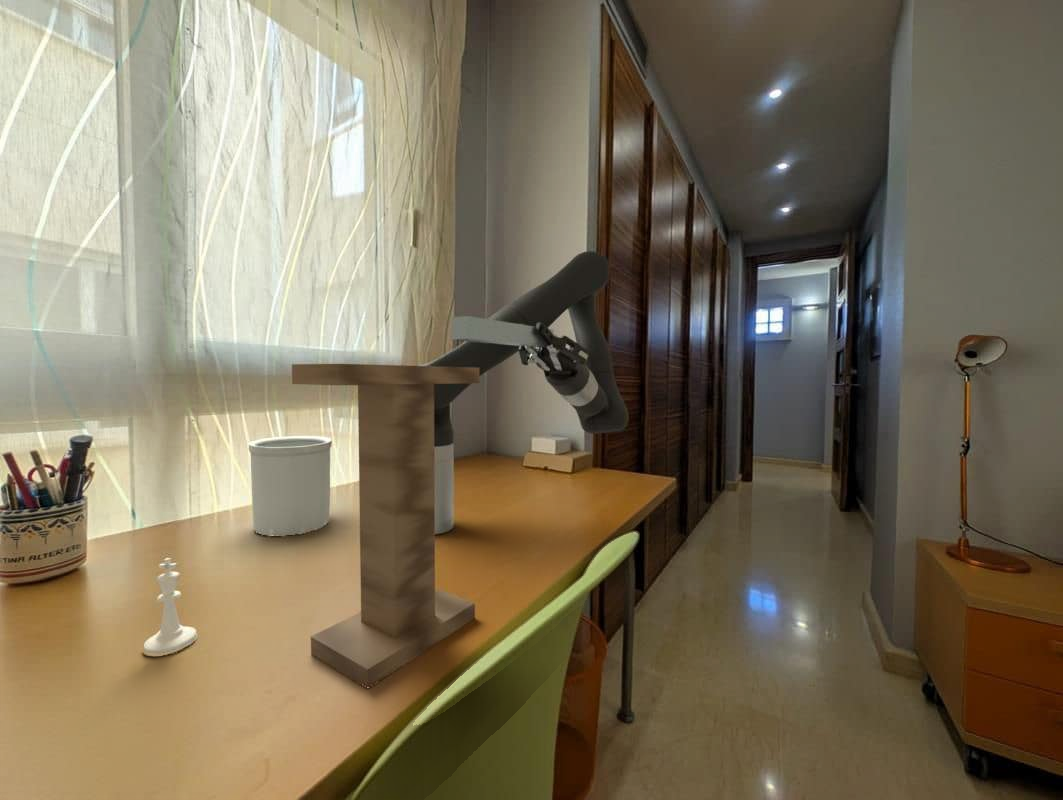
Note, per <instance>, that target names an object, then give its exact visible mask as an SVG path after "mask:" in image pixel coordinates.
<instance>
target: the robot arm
mask: <svg viewBox="0 0 1063 800" xmlns="http://www.w3.org/2000/svg"><path fill="white" fill-rule="evenodd" d="M609 262H610V261H608V259H607V258H606V256H604V255H603V254H602V253H600V252H598V251H597V252H596V251H593V250H592V251H590V250H588V251H584V252H583V251H582V252H581V253H578V254H576V255H575V256H574V257H573V258H572V259H571V260H570V261H569V262H568V263H566V265H565V266H564V267H563V268H561V269H560V270H559V271H558V272H556V273H555V274H554V275H552V276H551V277H550V278H549V279H547V280H546V281H544V282H542V283H541V284H539V285H537V286H536V287H534V288H531V290H529V291H527V292H525V293H523V294H522V295H520V296H519V297H517V298H516V299H514V300H513V301H511V302H510V303H508V304H506V305H504V306H503V307H502V308H501V309H499V310H498V311H496V312H494V313H492V315H490V317H488V318H487V319H490V320H496V321H502V322H509V323H515V324H521V325H528V326H534V327H536V328H535V334H536V335H537V337H538V338H539V339H540V340H541V341H542V343H543V344H544V345H547V347H545V348H537V347H526V346H515V345H505V344H494V343H483V342H472V341H462V343H460V344H459V345H458V346H456V347H455V348H453V349H451V350H450V351H448V352H447V353H444V354H443V355H442V356H439V357H437V358H436V359H434V360H431V361H430V362H427V363H422V364H418V365H417V366H438V367H475V368H479V378H480V377H481V376H483V375H484V374H486V373H487V372H488V371H490V370H492V369H493V368H496V367H497V366H498V365H500V364H502V363H503V362H505V361H506V360H508V359H509V358H511V357H512V356H513V355H515V354H516V353H519V358H520V362H521V364H522V365H523V366H528V365H529V363H531V364H536V367H538V368H539V369H541V370H542V371H543V373H544V378H545V379H546V381H547V383H549V385H550V386H551V387H552V388H553V389H554V390H555V391H556V392H557V393H558V394H559V395H560V397H562V399H564V400H565V401H566V402H568V403H569V404H570V406H571V407H572V408H573V409H574V410H575V412H576V414H577V417H578V419H579V424H580V426H581V428H582V430H583V431H584V432H585V433H587V434H590V435H591V434H592V435H594V434H595V435H596V434H604V433H612V432H618V431H619V432H620V431H622V430H624V429H625V428H626V427H627V425H628V423H629V419H630V418H629V417H630V416H629V415H630V414H629V411H628V409H627V406H626V404H625V401H624V399H623V397H622V396H621V393H620V390H619V388H618V386H617V382H616V378H615V374H614V368H613V367H614V366H613V359H612V354H611V351H610V350H611V349H610V346H609V344H608V342H607V338H606V337H605V335H604V332H603V331H602V329H601V326H600V325H599V322H598V318H597V313H596V310H597V309H596V295H598V293H599V292H601V291H602V290H603V289H604V288H605V287H606V285H607V283H608V282H609V278H610V275H611V266H610V263H609ZM567 310H568V314H569V318H570V320H571V324H572V328H573V333H574V337H575V341H574V340H573V339H571V338H570V337H569V336H566V335H561V336H560V337H559V336H558V335H557V334H556V333H554V334H552V332H551V331H550V330H549V329H550V328H549V327H550V326H551V325H552V324H553V323H555V322H556V320H557V319H558V318H560V317H561V316H562V314H563V313H564V312H566V311H567ZM567 345H568V346H569V348H567ZM472 384H473V383H457V384H434V494H435V535H439V534H444V533H446V532H449V531H451V530H452V529H453V528H454V524H455V522H454V520H455V519H454V518H455V517H454V515H455V512H454V509H455V506H454V505H455V502H454V501H455V496H454V495H455V494H454V493H455V492H454V491H455V490H454V489H455V487H454V486H455V485H454V483H455V481H454V480H455V479H454V476H455V475H454V474H455V473H454V471H455V470H454V469H455V468H454V464H455V463H454V460H455V459H454V451H455V450H454V449H455V448H454V442H455V441H454V429H453V426H452V421H451V420H452V419H451V403H452V402H454V401H455V400H456V399H457V398H458V397H459V395H461V394H462V392H464V391H465V390H466V389H467V388H468V387H469V386H471V385H472Z"/></svg>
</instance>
